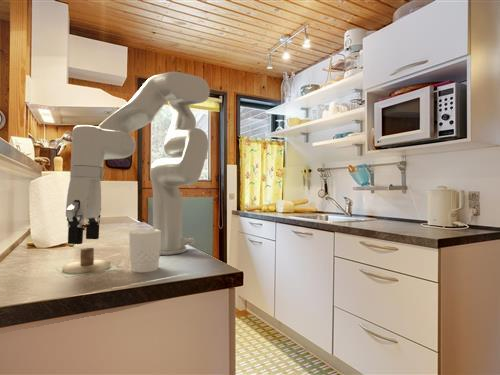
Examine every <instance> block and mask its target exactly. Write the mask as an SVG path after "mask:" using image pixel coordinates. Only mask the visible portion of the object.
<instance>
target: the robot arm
mask: <svg viewBox="0 0 500 375" xmlns="http://www.w3.org/2000/svg"><path fill="white" fill-rule="evenodd" d="M210 90H211V89H210V85H209V84H208V82H207V81H206V80H205V79H204V78H203V77H200V76H198V75H194V74H190V73H189V74H188V73H184V72H179V71H167V72H163V73H160V74H159V73H158V74H155V75H152V76H151V77H149V78H148V79H147V80H146V81H144V83H143V84H142V86H141V87H140V88H139V89H138V90H137V91H136V93H135V94H134V95H133V96H132V98H131V99H130V100H129V101H128V102H127V103H125V104H124V105H123V106H122V107H120V108H119V109H117V110H116V111H115V112H114V113H112V114H111V115H110V116H108V117H107V118H105V119H104V120H103V121H102V122H101V123H100V124H99V125H98V126H95V125H89V124H85V125H84V124H80V125H79V124H78V125H75V126H74V127H73V129H72V132H71V149H70V150H71V153H70V154H71V155H70V172H69V173H70V175H69V184H68V189H67V197H66V203H65V217H66V221H67V228H68V229H67V230H68V231H67V244H68V245H82V244H83V243H84V240H83V238H84V227H82V226H83V224H84V222H85V220H86V222H87V223H86V226H85V228H86V229H85V239H86V240H98V239H100V238H99V237H100V223H101V220H100V218H101V212H102V185H101V184H102V183H101V182H103V181H104V162H105V161H106V160H117V159H118V160H119V159H125V158H128V157H130V156H132V155H133V154H134V153H135V151H136V148H137V142H136V140H135V138H134V137H133V136H132V135H131V133H133V132H134V131H137V130H140V129H141V128H143V127H145V126H147V125H149V124H151V123H152V122H153V121H154V119H155V118H156V116H157V115H158V113H160V112H161V111H160V110H162V109H163V107H164V106H165V105H166V104H168V105H169V108H170V111H171V114H172V118H171V123H170V125H169V128H168V131H167V135H166V136H165V138H164V139H165V140H164V143H163V144H164V145H163V150H164V152H165V154H166V155H167V157H161V158H158V159H156V160H154V161H153V163H152V164H151V166H150V169H149V176H150V182H151V187H152V230H160V231H161V242H160V256H166V255H167V256H168V255H169V256H170V255H179V254H183V253H185V252H186V251H187V250H188V248H187V246H186V245H192V244H195V241H196V240H195V238H194V237H190V238H186V237H185V236H183V196H182V193H181V191H180V188H179V187H180V186H186V187H187V186H193V185H195V184H196V183H198V181H199V179H200V178H201V175H202V173H203V172H202V171H203V168H204V164H205V163H206V162H205V161H206V159H207V154H208V151H209V137H208V136H207V134H206V132H205V131H204V130H202V129H201V128H197V127H196V126H197V120H196V116H195V115H194V114H193V112H192V110H191V108H190V106H192V105H196V104H202V103H205V102H206V101H208V99H209V97H210V94H211V93H210V92H211V91H210Z"/></svg>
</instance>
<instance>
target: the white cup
mask: <svg viewBox="0 0 500 375" xmlns="http://www.w3.org/2000/svg"><path fill="white" fill-rule="evenodd" d="M160 242H161V231H160V230H153V229H135V230H130V231H128V249H129V261H130V272H132V273H133V272H134V273H149V272H154V271H157V270H159V265H160V256H161V255H160Z"/></svg>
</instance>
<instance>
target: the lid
mask: <svg viewBox="0 0 500 375" xmlns="http://www.w3.org/2000/svg"><path fill="white" fill-rule="evenodd" d="M94 252H95V248H94V247H84V248H80V261H79V260H78V261H74V262H69V263H66V264H64V265H63V266H61V267H62V272H63V273H67V274H85V273H92V274H94V273H93V272H99V271H103V270H106V269H108V268H110V267H111V265H112V262H111V261H109V260H106V259H95V258H94V257H95V255H94V254H95V253H94ZM99 273H100V272H99Z"/></svg>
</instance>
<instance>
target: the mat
mask: <svg viewBox="0 0 500 375" xmlns="http://www.w3.org/2000/svg"><path fill="white" fill-rule="evenodd" d="M62 267H63V266H60V267H59V266H58V267H55V270H57V271H58V272H59V273H60V274H61V275H62V276H64V277H65V278H71V277H79V276H85V275H92V274H97V273H99V274H100V273H105V272H109V271H117V270H118V271H119V268H118V267H116V266H115V265H113V264H111V267H110V268H108V269H106V270H103V271H99V272H93V273H85V274H67V273H63V272H62Z"/></svg>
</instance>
